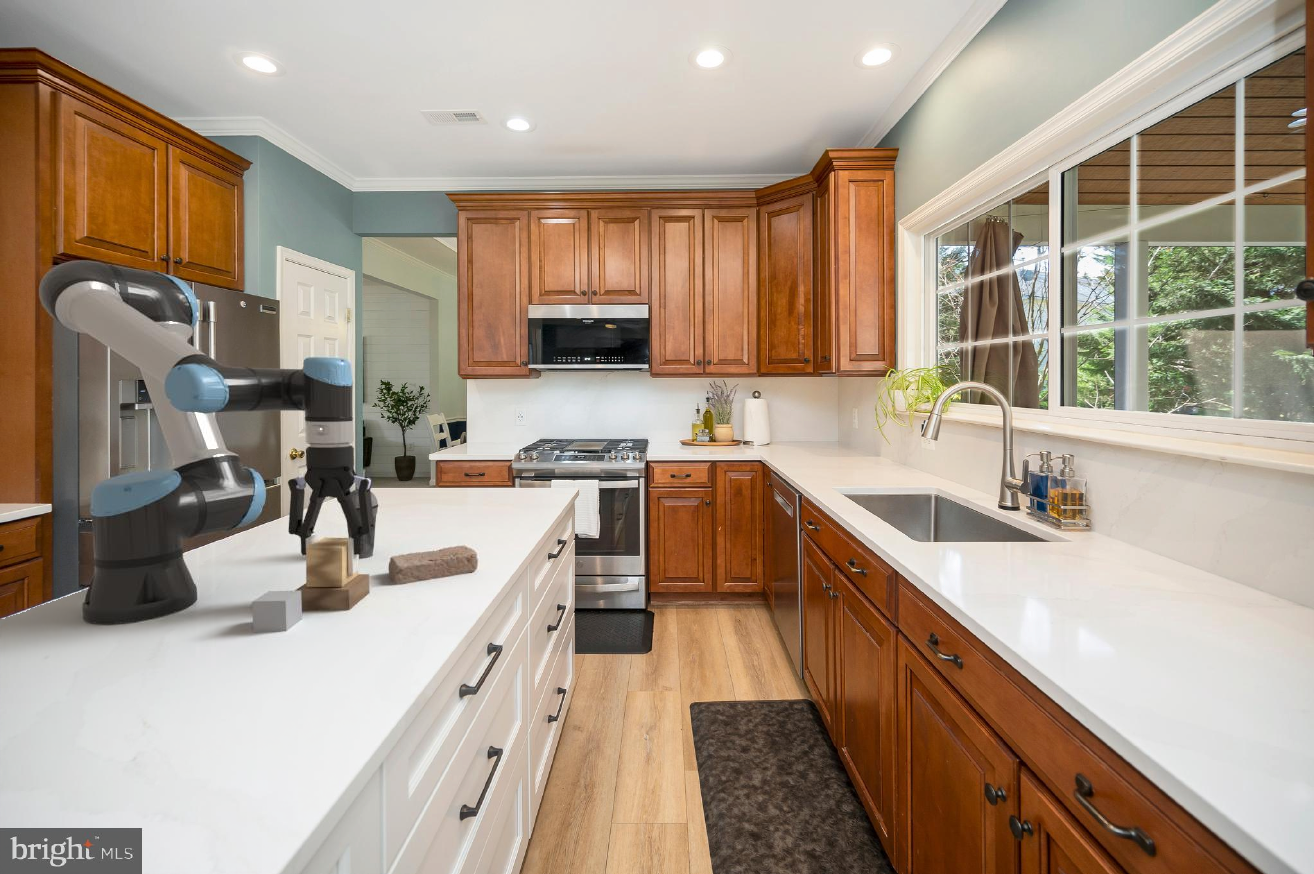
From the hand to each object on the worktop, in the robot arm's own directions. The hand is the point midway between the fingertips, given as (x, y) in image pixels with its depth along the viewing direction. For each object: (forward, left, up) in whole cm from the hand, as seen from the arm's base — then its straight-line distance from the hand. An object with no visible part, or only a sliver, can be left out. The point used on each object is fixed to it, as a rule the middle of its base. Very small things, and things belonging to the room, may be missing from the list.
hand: (333, 571), depth 109 cm
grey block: (-4, -11, -6) cm, 13 cm away
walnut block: (0, 0, -6) cm, 6 cm away
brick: (+13, +17, -6) cm, 22 cm away
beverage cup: (-7, +31, -6) cm, 32 cm away
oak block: (0, 0, -2) cm, 2 cm away
